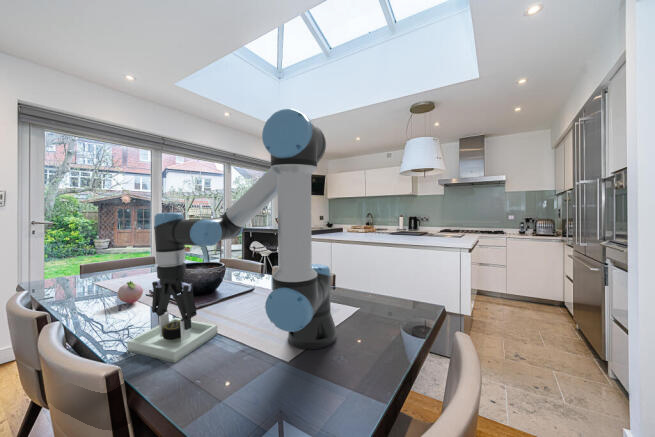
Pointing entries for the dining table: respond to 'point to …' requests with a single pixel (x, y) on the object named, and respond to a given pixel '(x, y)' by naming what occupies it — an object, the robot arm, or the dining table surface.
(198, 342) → the tray
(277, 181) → the robot arm
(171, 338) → the tape measure
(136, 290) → the decorative fruit
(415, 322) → the dining table surface
